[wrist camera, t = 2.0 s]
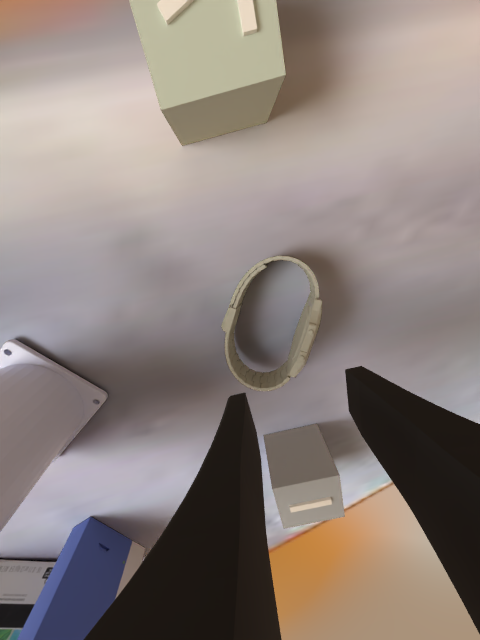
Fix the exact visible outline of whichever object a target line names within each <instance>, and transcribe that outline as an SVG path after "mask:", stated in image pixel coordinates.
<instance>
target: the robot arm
mask: <svg viewBox="0 0 480 640" xmlns="http://www.w3.org/2000/svg"><path fill="white" fill-rule="evenodd" d="M9 350H10V351H11V352H12V353H11V352H10V351H9ZM345 372H346V383H347V394H348V404H349V412H350V414H351V416H352V418H353V420H354V422H355V424H356V425H357V427H358V429H359V431H360V433H361V435H362V437H363V438H364V440H365V441H366V443H367V444H368V446H369V447H370V449H371V450H372V452H373V453H374V455H375V456H376V458H377V459H378V461H379V462H380V464H381V465H382V467H383V468H384V469H385V471H386V472H387V474H388V475H389V477H390V478H391V480H392V481H393V483H394V484H395V486H396V487H397V489H398V490H399V492H400V493H401V495H402V496H403V498H404V499H405V501H406V502H407V504H408V505H409V507H410V509H411V510H412V512H413V513H414V515H415V517H416V519H417V520H418V522H419V524H420V526H421V527H422V529H423V531H424V533H425V534H426V536H427V538H428V540H429V542H430V543H431V545H432V547H433V549H434V550H435V552H436V554H437V556H438V558H439V559H440V561H441V563H442V564H443V567H444V569H445V570H446V572H447V574H448V576H449V577H450V579H451V581H452V583H453V585H454V587H455V589H456V590H457V592H458V594H459V596H460V598H461V599H462V602H463V603H464V605H465V607H466V609H467V611H468V613H469V615H470V616H471V618H472V620H473V622H474V624H475V626H476V628H477V630H478V632H479V634H480V424H478V423H475V422H473V421H471V420H468V419H466V418H464V417H461V416H459V415H457V414H455V413H452V412H450V411H448V410H446V409H444V408H442V407H439V406H437V405H435V404H433V403H431V402H429V401H427V400H425V399H423V398H421V397H419V396H417V395H415V394H413V393H411V392H409V391H407V390H405V389H403V388H401V387H399V386H397V385H396V384H394V383H392V382H390V381H388V380H386V379H384V378H383V377H381V376H379V375H377V374H375V373H373V372H372V371H370V370H368V369H366V368H364V367H362V366H359V367H355V368H351V369H346V370H345ZM107 397H108V394H107V393H106V392H105V391H104V390H102V389H100V388H98V387H97V386H95V385H93V384H91V383H90V382H88V381H86V380H85V379H83V378H81V377H79V376H78V375H76V374H74V373H72V372H71V371H69V370H67V369H66V368H64V367H62V366H60V365H59V364H57V363H55V362H53V361H52V360H50V359H48V358H47V357H45V356H43V355H41V354H40V353H38V352H36V351H34V350H33V349H31V348H29V347H28V346H26V345H24V344H22V343H21V342H19V341H17V340H14V339H11V340H8V341H7V342H5V343H4V345H3V346H2V348H1V349H0V532H1V530H2V529H3V528H4V526H5V525H6V524H7V522H8V521H9V519H10V518H11V517H12V515H13V514H14V513H15V511H16V510H17V509H18V507H19V506H20V504H21V503H22V502H23V500H24V499H25V498H26V496H27V495H28V494H29V492H30V491H31V489H32V488H33V487H34V485H35V484H36V483H37V481H38V480H39V479H40V477H41V476H42V474H43V473H44V472H45V470H46V469H47V468H48V466H49V465H50V464H51V462H54V461H55V460H56V459H57V458H58V457H59V456H60V454H61V453H62V452H63V451H64V450H65V448H66V447H67V446H68V445H69V444H70V442H71V441H72V440H73V439H74V438H75V436H76V435H77V434H78V433H79V432H80V430H81V429H82V428H83V427H84V426H85V425H86V423H87V422H88V421H89V420H90V419H91V417H92V416H93V415H94V414H95V413H96V411H97V410H98V409H99V408H100V407H101V405H102V404H103V403H104V402H105V401H106V399H107ZM96 399H97V400H99V401H97V400H96ZM83 640H281V634H280V627H279V621H278V614H277V607H276V601H275V594H274V587H273V580H272V573H271V567H270V559H269V552H268V545H267V536H266V526H265V511H264V497H263V482H262V468H261V456H260V450H259V444H258V438H257V432H256V429H255V425H254V422H253V418H252V415H251V411H250V408H249V404H248V401H247V397H246V394H245V393H241V394H237V395H233V396H230V397H229V398H228V401H227V404H226V408H225V411H224V414H223V417H222V419H221V422H220V425H219V427H218V430H217V432H216V435H215V437H214V440H213V442H212V445H211V447H210V449H209V451H208V453H207V455H206V458H205V460H204V462H203V464H202V466H201V468H200V470H199V472H198V474H197V476H196V478H195V480H194V482H193V484H192V485H191V487H190V489H189V491H188V493H187V494H186V496H185V498H184V500H183V501H182V503H181V505H180V506H179V508H178V510H177V511H176V513H175V514H174V516H173V518H172V519H171V521H170V523H169V524H168V526H167V527H166V529H165V530H164V532H163V533H162V535H161V536H160V538H159V539H158V541H157V542H156V544H155V545H154V547H153V548H152V549H151V551H150V552H149V554H148V555H147V556H146V558H145V559H144V561H143V562H142V564H141V565H140V566H139V568H138V569H137V571H136V572H135V573H134V575H133V576H132V578H131V579H130V580H129V582H128V583H127V585H126V586H125V587H124V589H123V590H122V591H121V593H120V594H119V595H118V596H117V598H116V599H115V600H114V601H113V603H112V604H111V605H110V607H109V608H108V609H107V610H106V612H105V613H104V614H103V615H102V617H101V618H100V619H99V620H98V622H97V623H96V624H95V626H94V627H93V628H92V629H91V631H90V632H89V633H88V634H87V636H86V637H85V638H84V639H83Z"/></svg>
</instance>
